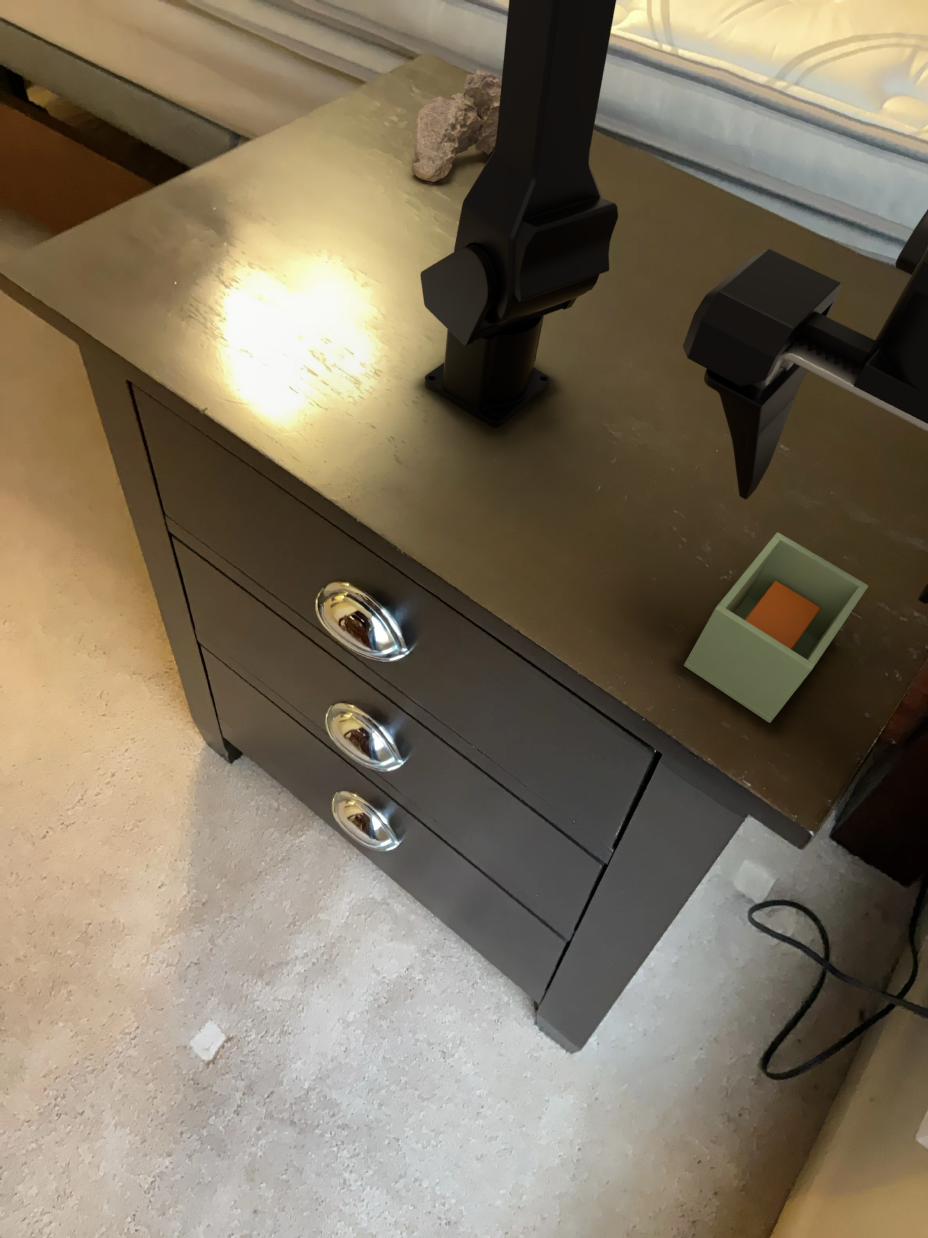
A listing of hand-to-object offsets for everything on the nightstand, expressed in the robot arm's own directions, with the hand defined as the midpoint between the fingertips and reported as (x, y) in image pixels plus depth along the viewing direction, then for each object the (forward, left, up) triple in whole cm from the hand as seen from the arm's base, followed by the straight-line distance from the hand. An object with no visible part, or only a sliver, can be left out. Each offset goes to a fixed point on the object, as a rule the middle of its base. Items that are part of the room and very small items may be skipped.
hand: (832, 543), depth 41 cm
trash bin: (0, 0, -10) cm, 10 cm away
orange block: (0, 0, -9) cm, 9 cm away
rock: (+31, +44, -10) cm, 55 cm away
